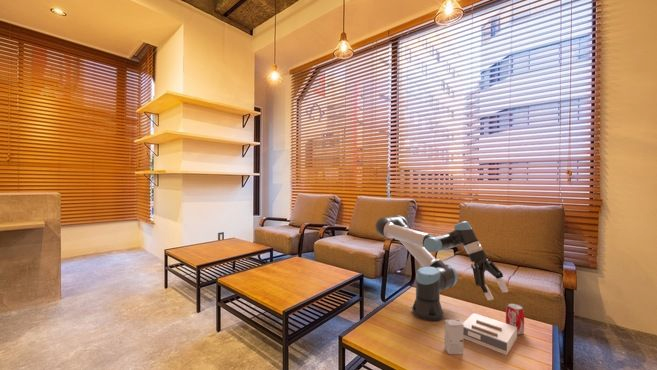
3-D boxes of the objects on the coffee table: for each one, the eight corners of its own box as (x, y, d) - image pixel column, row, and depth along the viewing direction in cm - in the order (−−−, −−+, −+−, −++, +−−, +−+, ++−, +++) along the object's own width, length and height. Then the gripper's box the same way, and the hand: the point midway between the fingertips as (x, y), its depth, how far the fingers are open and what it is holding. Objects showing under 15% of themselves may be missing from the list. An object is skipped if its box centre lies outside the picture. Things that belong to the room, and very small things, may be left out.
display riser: (459, 337, 124) (459, 324, 123) (473, 323, 136) (473, 310, 136) (506, 356, 111) (506, 341, 111) (516, 338, 123) (517, 324, 123)
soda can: (526, 336, 124) (527, 310, 124) (509, 334, 126) (509, 308, 126) (519, 328, 131) (519, 303, 131) (503, 326, 133) (503, 302, 132)
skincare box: (448, 354, 112) (449, 325, 111) (443, 347, 116) (444, 319, 116) (463, 354, 112) (464, 324, 112) (458, 347, 116) (458, 319, 116)
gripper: (467, 254, 128) (491, 301, 120) (495, 245, 142) (518, 287, 133) (454, 258, 134) (476, 304, 125) (482, 250, 147) (504, 290, 139)
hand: (498, 295), depth 129 cm, fingers open, 13 cm apart
